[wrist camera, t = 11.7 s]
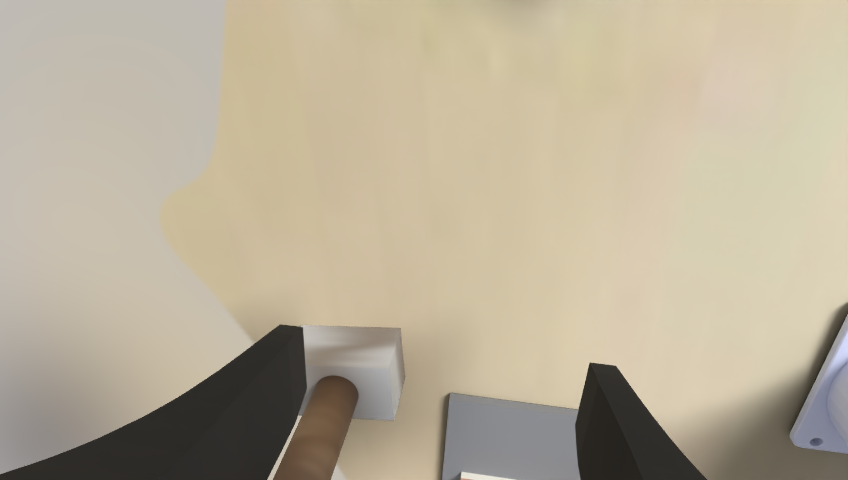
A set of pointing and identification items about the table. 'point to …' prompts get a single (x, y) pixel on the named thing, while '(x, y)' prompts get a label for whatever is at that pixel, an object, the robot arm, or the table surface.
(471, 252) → the table surface
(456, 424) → the mat
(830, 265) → the table surface
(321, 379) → the trowel
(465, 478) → the tile
